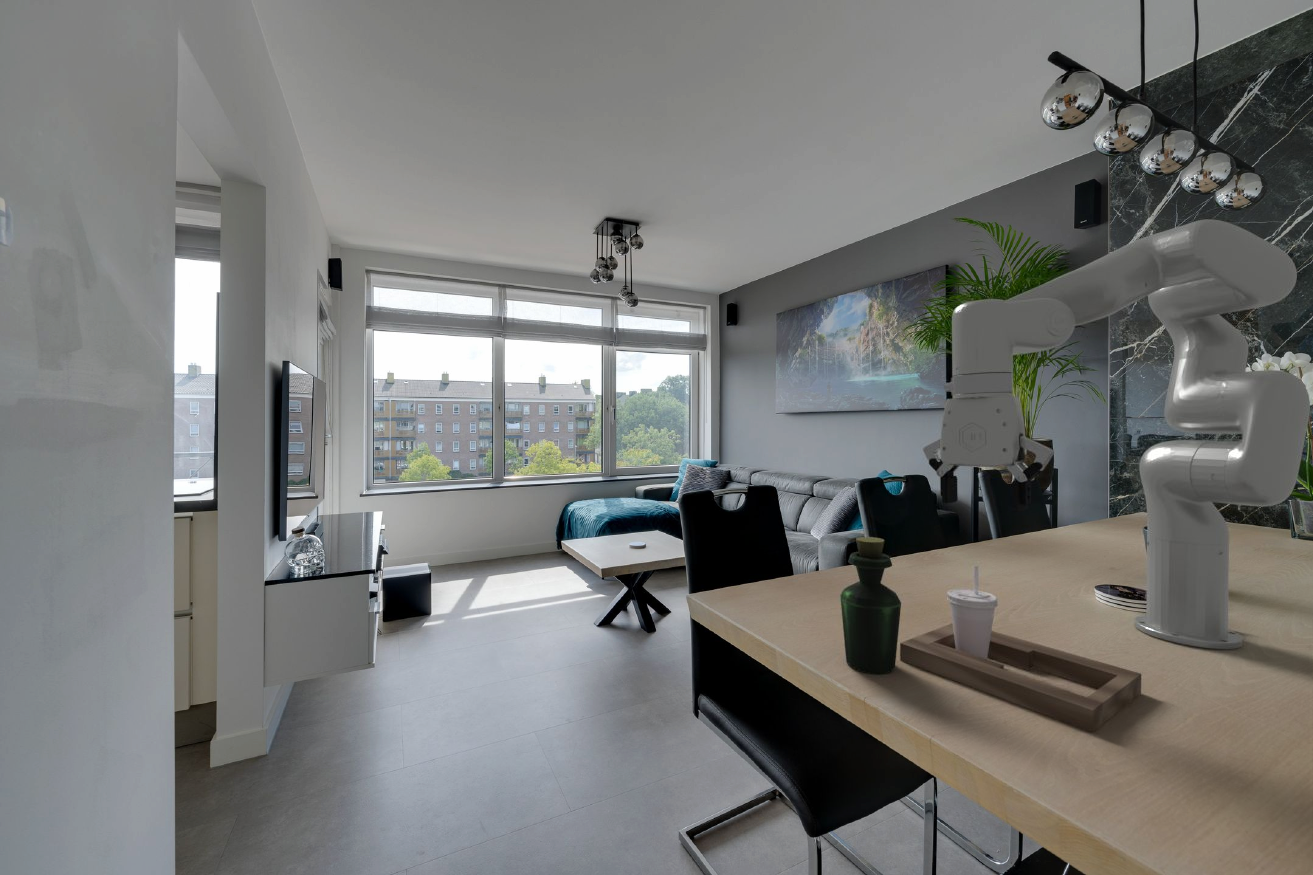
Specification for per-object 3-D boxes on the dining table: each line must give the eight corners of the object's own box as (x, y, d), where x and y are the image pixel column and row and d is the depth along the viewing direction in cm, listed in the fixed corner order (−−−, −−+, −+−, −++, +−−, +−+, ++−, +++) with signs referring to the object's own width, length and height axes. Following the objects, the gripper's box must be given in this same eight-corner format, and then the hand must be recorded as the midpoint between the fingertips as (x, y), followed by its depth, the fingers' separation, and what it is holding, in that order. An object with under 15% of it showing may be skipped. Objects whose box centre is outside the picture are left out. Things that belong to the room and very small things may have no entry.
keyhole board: (957, 636, 88) (957, 621, 88) (1141, 693, 69) (1141, 673, 69) (900, 659, 79) (900, 642, 79) (1092, 732, 60) (1092, 710, 60)
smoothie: (1005, 672, 75) (1005, 571, 75) (954, 668, 76) (955, 569, 76) (987, 653, 81) (987, 560, 81) (940, 650, 83) (941, 558, 83)
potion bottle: (902, 659, 80) (902, 536, 80) (900, 682, 72) (900, 547, 72) (844, 649, 83) (843, 532, 83) (836, 670, 76) (836, 542, 76)
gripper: (910, 391, 84) (912, 502, 84) (1038, 382, 69) (1039, 516, 70) (937, 392, 88) (938, 498, 88) (1063, 384, 73) (1064, 510, 74)
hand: (983, 505), depth 79 cm, fingers open, 9 cm apart
